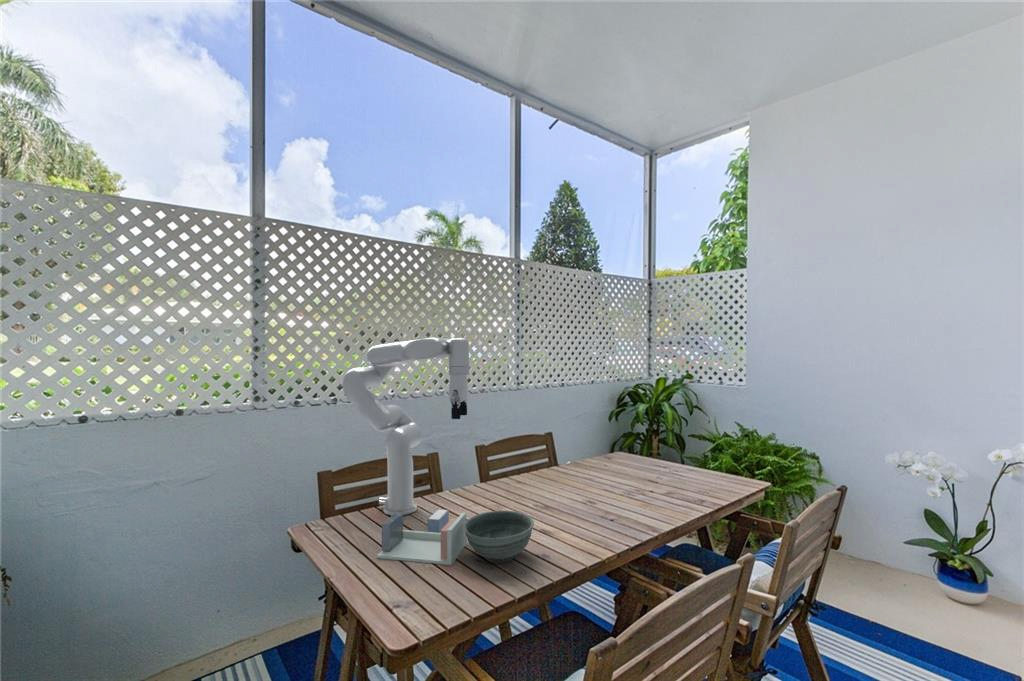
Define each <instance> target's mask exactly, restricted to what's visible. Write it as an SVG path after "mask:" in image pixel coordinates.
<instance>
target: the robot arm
mask: <svg viewBox="0 0 1024 681" xmlns="http://www.w3.org/2000/svg"><path fill="white" fill-rule="evenodd" d="M437 358H438V359H442V358H443V359H445V358H448V375H449V376H450V377H449V386H448V402H450V403H451V407H450V409H451V412H450V413H451V414H450V415H451V416H450V417H451V420H460V419H461V416H467V415H468V398H469V397H468V395H469V394H468V393H469V392H468V390H469V388H468V376H469V375H470V341H469V340H468V339H467V337H465V338H464V337H456V338H455V337H454V338H444V337H427V338H419V339H413V340H405V341H398V342H397V341H396V342H391V343H390V342H389V343H386V344H385V343H384V344H377V345H374V346H371V347H370V348H368V350H367V353H366V361H367V362H368V364H370V365H369V366H365V367H364V366H363V367H355V368H352V369H350V370H348V371H347V372H346V373H345V374H344V376H343V379H342V390H343V393H344V395H345V397H346V399H347V400H348V401H349V402H350V403H351V404H352V406H354V407H355V409H356V410H357V411H358V412H359V413H360V414H361V415H362V416H363V417H364V419H365V420H366V421H367V422H368V423H369V424H370V426H371V427H373V429H375V431H377V432H380V433H381V432H383V433H384V432H386V431H389V430H390V431H389V432H388V434H387V435H386V436H385V440H384V441H385V442H384V444H385V450H386V459H387V461H386V462H387V497H379V499H378V505H384V507H383V511H382V512H383V513H384V514H385V515H388V516H392V515H394V514H395V513H403V516H406V515H410V514H413V513H414V512H416V511H417V510H418V504H417V503H415V502H414V459H413V454H412V451H411V450H412V448H415V447H417V446H418V445H419V444H420V443H422V442H421V441H422V440H423V431H422V429H421V427H420V426H419V425H418V424H417V422H415V420H414V419H413V418H412V417H411V416H410V415H409V414H408V413H407V412H406V411H405V410H404V409H403V408H402V407H401V406H399V405H396V404H388V405H386V404H384V403H383V402H382V401H381V400H380V399H379V398H378V397H377V395H375V394H374V393H373V392H372V391H370V390H369V389H370V388H374V387H378V385H380V384H381V383H382V382H383V381H384V380H385V378H386V377H387V375H388V374H389V373H390V372H391V371H392V369H393V368H394V367H395V366H396V365H403V364H405V365H406V364H409V363H410V362H414V361H419V360H427V359H437Z"/></svg>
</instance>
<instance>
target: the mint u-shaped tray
mask: <svg viewBox="0 0 1024 681" xmlns="http://www.w3.org/2000/svg"><path fill="white" fill-rule="evenodd" d="M466 522H467V512H464V511H463V512H462V513H460V515H459V516H458V517H451V519H449V522H448V523H447V524H446V525H445V526H444V527H443V528H442V530H441V533H434V532H428V531H421V530H409V529H403V539H402V540H401V541H400V542H399V543H398V544H397V545H396V546H395V547H394V548H392V549H391V550H390V551H382V550H381V551H380V552H379V553H377V554H376V559H384V560H395V561H404V562H405V561H406V562H407V561H408V562H413V563H414V562H415V563H416V562H417V563H424V564H434V565H435V564H436V565H444V566H445V565H446V566H452V565H453V564H454V563H455V561H456V559H457V558H458V556H459V555H460V554H461V552H462V551H463V550H464V548H465V547H466V545H467V536H466V533H465V531H464V524H465V523H466Z"/></svg>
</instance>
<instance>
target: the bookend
mask: <svg viewBox="0 0 1024 681" xmlns="http://www.w3.org/2000/svg"><path fill="white" fill-rule="evenodd" d="M403 530H404V515H403V513H395V514H394V515H390V517H388V518H387V519H386V520H384V521H383V522H382V523H381V551H390V550H391V549H392V548H394V547H395V546H396V545H397V544H398V543H399V542H400V541H401V540H402V539H403Z"/></svg>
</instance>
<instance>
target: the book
mask: <svg viewBox="0 0 1024 681" xmlns="http://www.w3.org/2000/svg"><path fill="white" fill-rule="evenodd" d="M449 511H450V510H447V509H437V510H436V511H435V512H434V513H432V515H430V516H429V517H428V518H427V532H434V533H441V530H442V528H443V527H444V526H445V525H446V524H447V523H448V522H449V521H450V518H449V516H450V512H449Z"/></svg>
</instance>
